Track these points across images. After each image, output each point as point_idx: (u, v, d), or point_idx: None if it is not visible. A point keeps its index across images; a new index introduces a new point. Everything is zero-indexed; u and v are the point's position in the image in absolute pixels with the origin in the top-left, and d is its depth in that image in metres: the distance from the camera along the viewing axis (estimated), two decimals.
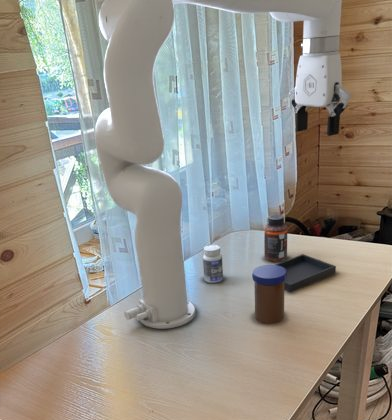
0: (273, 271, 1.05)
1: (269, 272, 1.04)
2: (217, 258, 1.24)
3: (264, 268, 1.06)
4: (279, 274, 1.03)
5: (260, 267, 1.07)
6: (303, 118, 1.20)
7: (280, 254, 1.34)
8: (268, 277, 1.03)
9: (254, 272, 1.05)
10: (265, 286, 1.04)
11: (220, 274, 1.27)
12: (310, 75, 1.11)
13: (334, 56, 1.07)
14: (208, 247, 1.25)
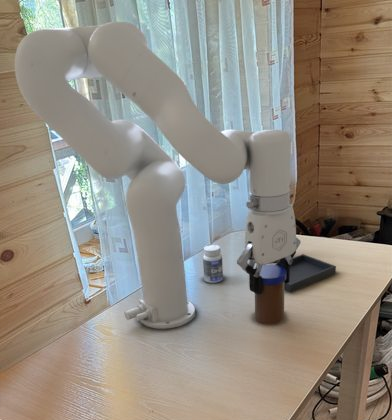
0: (273, 271, 1.05)
1: (269, 272, 1.04)
2: (217, 258, 1.24)
3: (264, 268, 1.06)
4: (280, 274, 1.03)
5: None
6: None
7: None
8: (268, 277, 1.03)
9: None
10: (265, 286, 1.04)
11: (220, 274, 1.27)
12: (278, 230, 0.98)
13: None
14: (208, 247, 1.25)
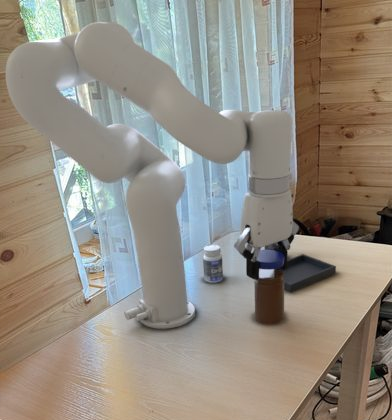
0: (262, 255, 1.03)
1: (267, 254, 1.04)
2: (217, 258, 1.24)
3: (272, 258, 1.02)
4: None
5: (276, 260, 1.01)
6: None
7: None
8: (268, 250, 1.06)
9: (282, 255, 1.03)
10: (265, 286, 1.04)
11: (220, 274, 1.27)
12: None
13: (247, 197, 0.95)
14: (208, 247, 1.25)
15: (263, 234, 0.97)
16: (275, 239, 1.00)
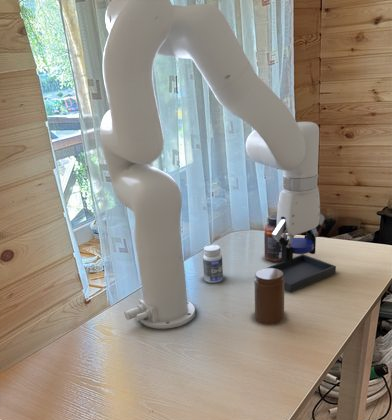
0: (295, 242, 1.23)
1: (298, 241, 1.23)
2: (217, 258, 1.24)
3: (303, 244, 1.21)
4: None
5: (307, 245, 1.21)
6: None
7: (280, 254, 1.34)
8: (299, 238, 1.25)
9: (311, 242, 1.23)
10: (265, 286, 1.04)
11: (220, 274, 1.27)
12: None
13: (283, 194, 1.14)
14: (208, 247, 1.25)
15: (296, 224, 1.17)
16: (306, 228, 1.19)
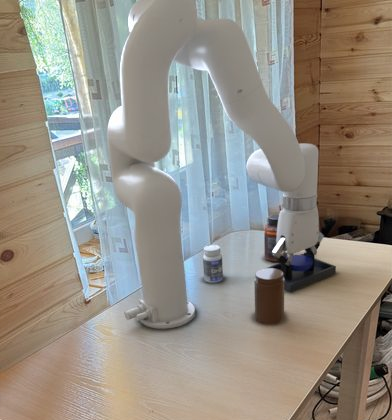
0: (294, 260, 1.25)
1: (298, 259, 1.25)
2: (217, 258, 1.24)
3: (303, 262, 1.24)
4: None
5: (306, 263, 1.23)
6: None
7: None
8: (298, 255, 1.27)
9: (310, 259, 1.25)
10: (265, 286, 1.04)
11: (220, 274, 1.27)
12: None
13: (282, 213, 1.17)
14: (208, 247, 1.25)
15: (295, 243, 1.19)
16: (305, 246, 1.21)
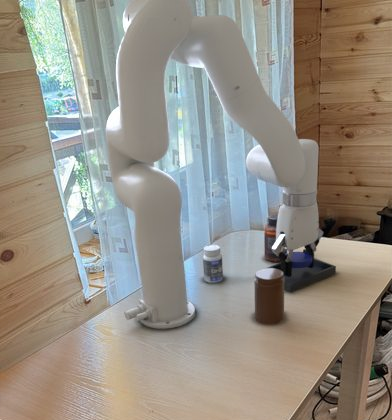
0: (294, 256, 1.24)
1: (297, 255, 1.25)
2: (217, 258, 1.24)
3: (302, 258, 1.23)
4: None
5: (306, 260, 1.22)
6: None
7: None
8: (298, 252, 1.27)
9: (310, 256, 1.24)
10: (265, 286, 1.04)
11: (220, 274, 1.27)
12: None
13: (282, 209, 1.16)
14: (208, 247, 1.25)
15: (295, 239, 1.18)
16: (304, 242, 1.21)
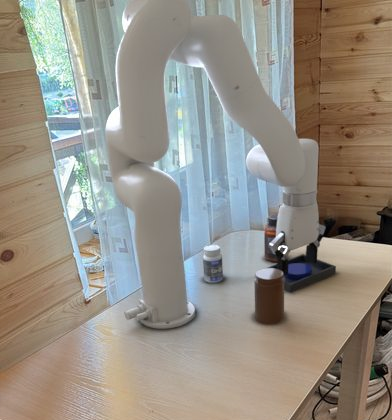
0: (293, 268, 1.26)
1: (297, 267, 1.26)
2: (217, 258, 1.24)
3: (301, 270, 1.25)
4: (288, 266, 1.28)
5: (305, 271, 1.24)
6: (310, 252, 1.26)
7: None
8: (297, 263, 1.28)
9: (309, 267, 1.26)
10: (265, 286, 1.04)
11: (220, 274, 1.27)
12: None
13: (282, 209, 1.16)
14: (208, 247, 1.25)
15: (295, 239, 1.18)
16: (305, 242, 1.21)
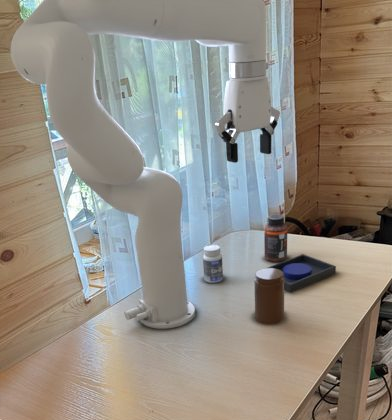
0: (293, 268, 1.26)
1: (297, 267, 1.26)
2: (217, 258, 1.24)
3: (301, 270, 1.25)
4: (288, 266, 1.28)
5: (305, 271, 1.24)
6: (264, 141, 1.16)
7: (280, 254, 1.34)
8: (297, 263, 1.28)
9: (309, 267, 1.26)
10: (265, 286, 1.04)
11: (220, 274, 1.27)
12: None
13: (228, 83, 1.06)
14: (208, 247, 1.25)
15: (244, 118, 1.08)
16: (255, 124, 1.10)
